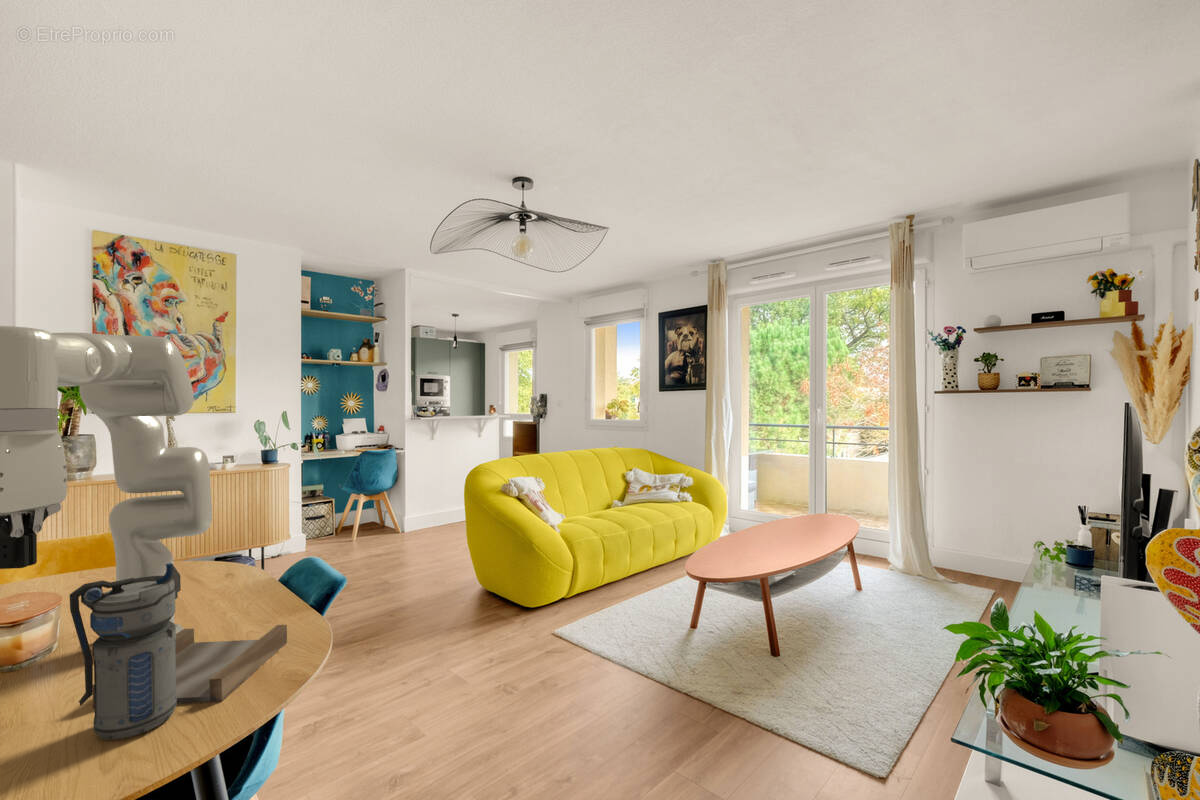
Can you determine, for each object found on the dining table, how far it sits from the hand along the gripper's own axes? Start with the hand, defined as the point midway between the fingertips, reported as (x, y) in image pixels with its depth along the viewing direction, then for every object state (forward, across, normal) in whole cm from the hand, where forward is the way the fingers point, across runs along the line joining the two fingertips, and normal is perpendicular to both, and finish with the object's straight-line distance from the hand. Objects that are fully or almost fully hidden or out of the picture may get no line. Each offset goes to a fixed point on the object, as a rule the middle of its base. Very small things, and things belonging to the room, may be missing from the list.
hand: (17, 566), depth 68 cm
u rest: (+31, -35, 0) cm, 47 cm away
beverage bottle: (+31, -18, 0) cm, 36 cm away
